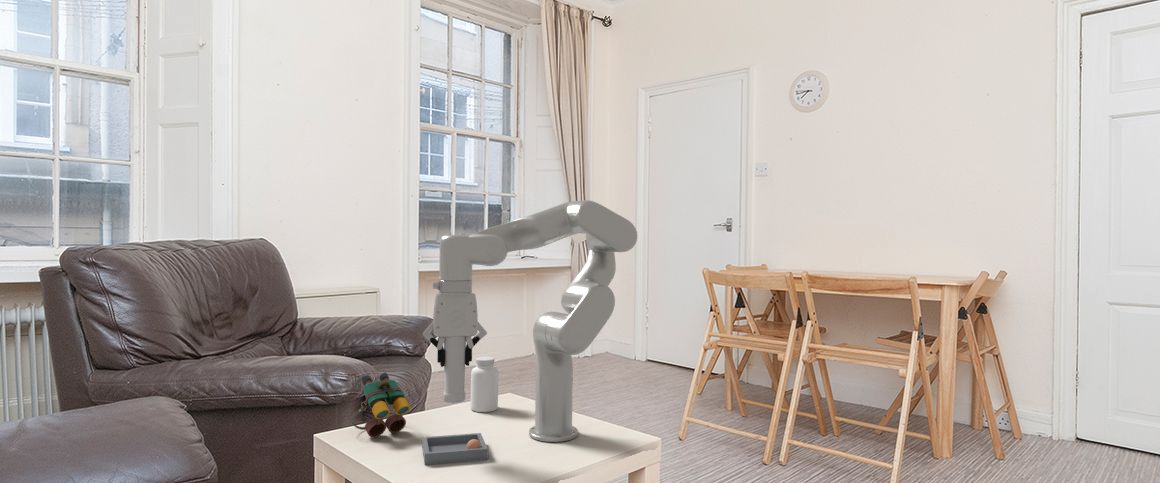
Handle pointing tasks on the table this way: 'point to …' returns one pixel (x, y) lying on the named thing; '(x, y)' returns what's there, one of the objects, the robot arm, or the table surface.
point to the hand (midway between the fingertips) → (454, 364)
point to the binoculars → (383, 405)
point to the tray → (452, 449)
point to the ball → (473, 444)
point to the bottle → (454, 369)
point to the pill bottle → (484, 385)
